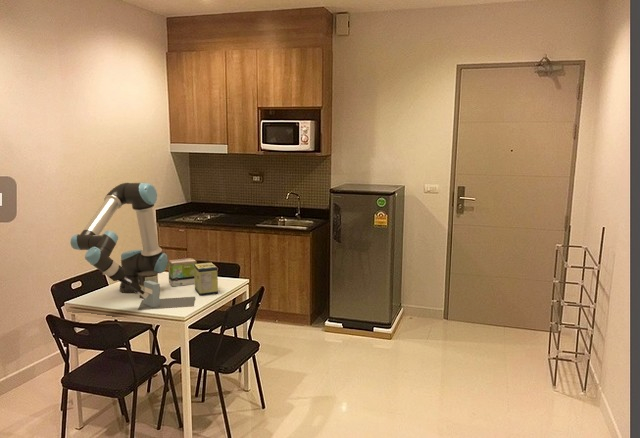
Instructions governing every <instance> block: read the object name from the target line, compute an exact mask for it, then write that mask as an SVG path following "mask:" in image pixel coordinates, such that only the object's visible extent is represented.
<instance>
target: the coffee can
mask: <svg viewBox="0 0 640 438" xmlns="http://www.w3.org/2000/svg"><path fill="white" fill-rule="evenodd" d="M158 274H159V273H158V272H157V271H143V272H140V273H138V276H139V286H140V287H141V289H143V290H144V281H153V282H156V283H159V278H158V277H159V276H158ZM139 298H140V299H141V300H144V298H143V297H142V296H141V295H140V294H139Z"/></svg>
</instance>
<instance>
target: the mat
mask: <svg viewBox="0 0 640 438" xmlns="http://www.w3.org/2000/svg"><path fill="white" fill-rule="evenodd" d="M195 301H196V296H184V297H167V298H166V297H165V298H160V300H159V307H154V308H153V307H151V306H148V305H146V304H144V299H141V302H140V304H139V307H138V308H137V311H145V310H146V311H147V310H160V309H177V308H188V307H189V308H190V307H195Z"/></svg>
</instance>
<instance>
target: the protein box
mask: <svg viewBox="0 0 640 438" xmlns="http://www.w3.org/2000/svg"><path fill="white" fill-rule="evenodd" d="M194 277H195V284H194V290H195V291H196V293H197V294H198V296H199V297H203V296H210V295H218V294H219V286H218V284H219V283H218V267H217V266H216V265H215V264H213V263H212V261H211V262H200V263H197V264H194Z"/></svg>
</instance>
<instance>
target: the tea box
mask: <svg viewBox="0 0 640 438" xmlns="http://www.w3.org/2000/svg"><path fill="white" fill-rule="evenodd" d="M197 262H198V261H197V260H195V259H194V258H193V257H192V258H191V257H190V258H181V259H180V258H179V259H178V258H177V259H168V263H167V266H168V283H169V285H170V286H171V287H173V288H174V287H179V286H187V285H195V277H194V264H198V263H197Z"/></svg>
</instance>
